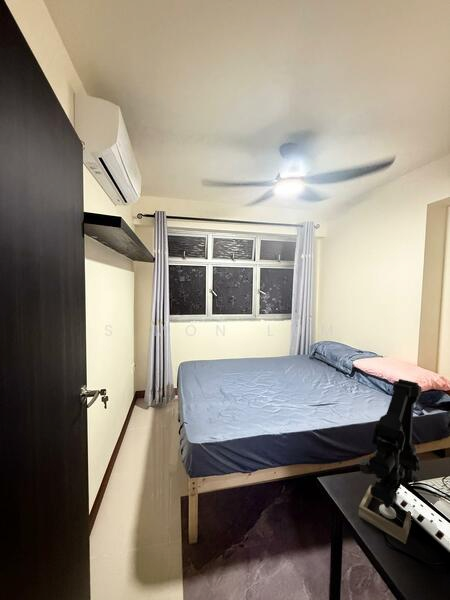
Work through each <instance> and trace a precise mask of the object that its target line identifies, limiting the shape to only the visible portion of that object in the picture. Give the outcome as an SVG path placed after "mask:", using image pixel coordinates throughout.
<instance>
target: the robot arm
mask: <svg viewBox="0 0 450 600" xmlns="http://www.w3.org/2000/svg"><path fill="white" fill-rule="evenodd" d="M422 389H423V388H422V386H420V385H419V383H418V382H416V381H415V382H414V381H411V380H406V379H402V378H401V379H400V378H399V379H398V380H394V381H393V382H392V391H393V392H392V396H391V399H390V400H389V401H390V402H389V405H388V408H387V412H386V413H385V414H384V415H382V416H380V417H379V420H378V422H376V423H375V427H374V432H373V436H372V442H371V444H372V445H374V446H376V450H375V452H374V453H373V454H372V456H371V457H363V458H362V459H361V460H360V462H359V470H360V471H361V474H364V475H375V478H377V479H380V480H379V481H377V480H376V481H374V482H373V483H372V484H371V485H372V486H371V488H370V494H371V495H372V496H374V497H376V498H378V499H380V500H382V501H383V502H382V501H381V502H382V504H384V506H385V507H387V508H389V506H390V505H392V506H393V505H394V503H395V500H396V498H397V495H398V493H397V492H398V490H400V488H401V485H402V483H403V484H405V483H406V484H405V485H407V483H408V482H412V481H413V480H415V481H416V480H417V479H416V477H417V476H415V475H414V472H418V471H421V463H420V458H419V457H418V455H417V448H416V446H415V445H414V443H413V442H412V439H413V436H412V435H413V420H414V404H415V403H416V402H418V400H419V399H420V397H421V395H422V391H423V390H422ZM378 438H379V439H378ZM374 497H373V498H374ZM376 498H375V499H376ZM378 499H377V500H378ZM380 500H379V501H380ZM390 507H391V506H390Z"/></svg>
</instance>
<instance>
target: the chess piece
mask: <svg viewBox="0 0 450 600" xmlns="http://www.w3.org/2000/svg"><path fill="white" fill-rule="evenodd" d="M378 507H379V508H378V509H379V512H380V514H381V515H382V516H384V518H387V519H390V520H392V519H393V520H394V519H395V518H396V519H397V512H396V510H395V509H394V508H393V506H392V507H391V506H389V508H387V507H385V506H384V503H382V504H380V505H379V506H378Z"/></svg>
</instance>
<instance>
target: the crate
mask: <svg viewBox="0 0 450 600" xmlns="http://www.w3.org/2000/svg"><path fill="white" fill-rule="evenodd" d="M371 486H372V484H370V485H369V486H368V489H367V490H366V493H365V495H364V496H363V498H362V500H361V502H360V503H359V506H358V517H359V518H362V520H364V521H366V522H368V523H369V524H371V525H373V526H375V527H376V528H377V529H379V530H381V531H383V532H385V533H386V534H388V535H389V536H392V537H393V538H395V539H397V540H398V541H400V542H402V543H403V544H404V545H405V544H407V540H408V536H409V533H410V530H411V526H412V522H411V520H412V521H413V519H411V512H410V511H408V510H407V511H406V512H407V513H406V515H405V519H404V522H403V526H402V527H401V526H399V525H397V524H395V523H394V522H392V521H390V520H388V518H387V519H386V517H383V516H381V515H380V514H378V513H376V512H374V511H372V510H370V509H369V508H368V507H369V504H370V503H371V502H372V499H373V498H374V497H373V496H372V495H371V494H370V488H371Z"/></svg>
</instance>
